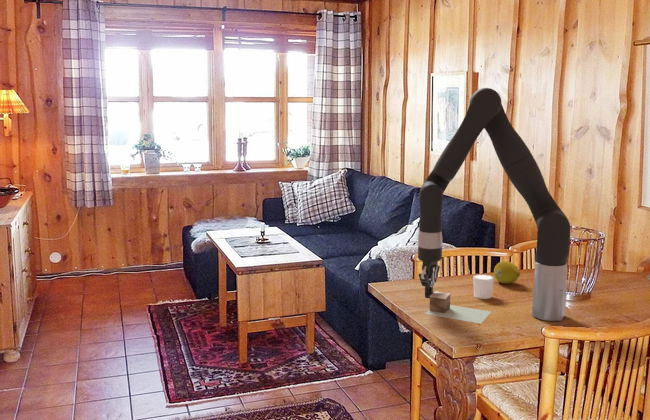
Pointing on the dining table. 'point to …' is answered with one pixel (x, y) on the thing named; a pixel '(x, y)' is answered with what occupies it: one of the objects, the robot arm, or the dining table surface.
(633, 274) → the dining table surface
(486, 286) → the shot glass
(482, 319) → the rubber mat
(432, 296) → the copper block
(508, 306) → the dining table surface
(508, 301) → the dining table surface
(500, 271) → the lemon
